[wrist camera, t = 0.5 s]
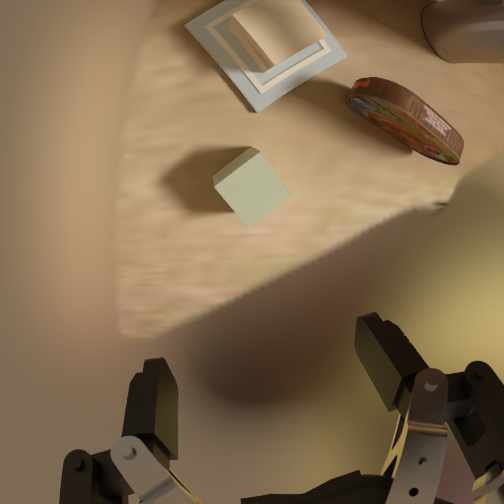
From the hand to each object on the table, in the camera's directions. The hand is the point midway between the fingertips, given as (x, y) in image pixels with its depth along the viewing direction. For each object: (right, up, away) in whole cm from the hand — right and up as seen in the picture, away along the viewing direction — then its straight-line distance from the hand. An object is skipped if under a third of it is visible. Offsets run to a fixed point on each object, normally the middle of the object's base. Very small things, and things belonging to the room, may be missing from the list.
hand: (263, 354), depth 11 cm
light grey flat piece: (+1, +26, +12) cm, 28 cm away
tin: (+16, +20, +18) cm, 31 cm away
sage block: (-1, +12, +19) cm, 22 cm away
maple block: (+1, +25, +12) cm, 28 cm away
